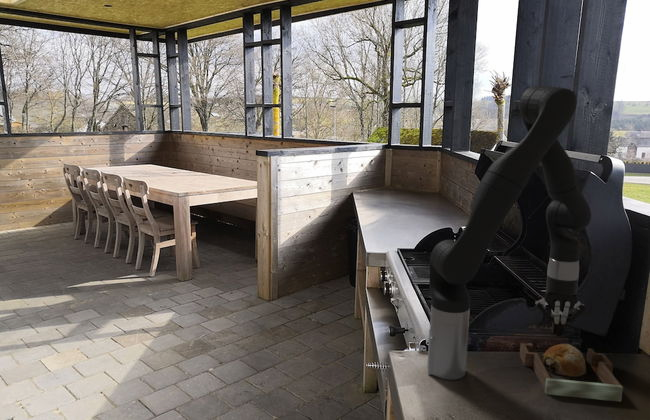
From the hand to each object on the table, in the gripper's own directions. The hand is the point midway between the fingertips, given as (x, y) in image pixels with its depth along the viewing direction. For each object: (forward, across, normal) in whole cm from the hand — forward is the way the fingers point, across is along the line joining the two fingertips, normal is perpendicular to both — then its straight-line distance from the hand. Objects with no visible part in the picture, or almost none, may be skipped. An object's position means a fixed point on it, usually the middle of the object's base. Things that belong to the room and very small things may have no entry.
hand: (557, 335), depth 133 cm
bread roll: (+5, -1, -10) cm, 11 cm away
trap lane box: (+4, 0, -14) cm, 15 cm away
